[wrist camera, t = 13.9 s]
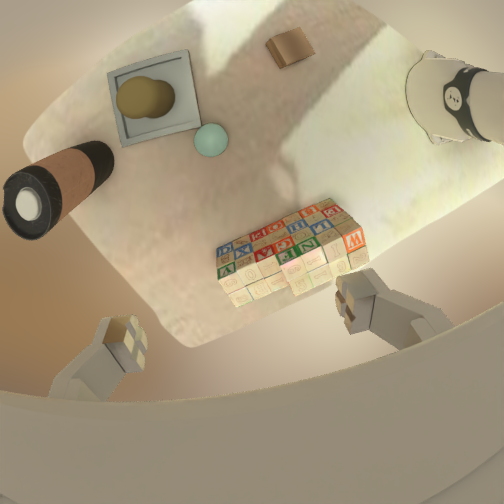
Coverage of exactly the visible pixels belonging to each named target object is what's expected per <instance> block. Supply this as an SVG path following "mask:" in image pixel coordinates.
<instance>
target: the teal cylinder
mask: <svg viewBox="0 0 504 504" xmlns="http://www.w3.org/2000/svg"><path fill="white" fill-rule="evenodd" d="M227 143H228V137H227V134H226V132H225V130H224V129H223V128H222V127H221V126H220V125H218V124H216V123H207V124H205V125H203V126H202V127H201V128H200V129H199V130H198V131H197V133H196V135H195V138H194V144H195V147H196V149H197V151H198V152H199V153H200V154H202V155H204V156H207V157H214V156H217V155H219V154H221V153H222V152H223V151H224V150H225V148H226V146H227Z"/></svg>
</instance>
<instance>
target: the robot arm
mask: <svg viewBox="0 0 504 504" xmlns="http://www.w3.org/2000/svg"><path fill="white" fill-rule="evenodd" d="M406 95H407V101H408V105H409V108H410V111H411V113H412V115H413V117H414V118H415V120H416V121H417V122H418V124H419V125H420V126H421V127H422V128H423V129H425V131H426V132H427V133H428V136H429V138H430V140H431V141H432V143H433V144H442V143H446V142H450V141H453V140H454V141H458V142H463V141H464V140H468V139H471V138H475V139H477V140H481V141H487V142H491V141H494V142H497V143H500V144H502V145H504V73H498V72H489V71H487V70H485V69H481V68H477V67H474V66H472V65H470V64H465V62H464V61H460V60H458V59H452V58H445V57H443V56H442V55H440V54H438V53H436V52H434V51H431V50H427V51H425V53H424V55H423V57H422V60H421V61H420V62H418V63H417V64H416V65H414V67H413V68H412V69H411V71H410V73H409V75H408V78H407V84H406ZM440 137H441V138H440ZM336 286H337V288H338V291H337V292H336V294H335V296H336V299H335V301H336V307H337V309H338V312H339V314H340V316H342V317H344V318H345V320H344V324H345V325H346V328H347V329H348V331H349V333H350V335H351V334H355V333H358V332H362V331H366V330H370V331H371V332H373V333H374V334H376V335H377V336H379V337H380V338H382V339H383V340H385V341H387V342H388V343H390V344H391V345H393V346H394V347H396V348H397V349H399V351H397V352H394V353H392V354H389V355H386V356H383V357H380V358H377V359H374V360H372V361H368V362H365V363H362V364H359V365H356V366H353V367H349V368H346V369H343V370H339V371H336V372H332V373H329V374H325V375H321V376H317V377H313V378H309V379H305V380H301V381H297V382H292V383H288V384H283V385H278V386H273V387H268V388H263V389H258V390H252V391H246V392H239V393H233V394H226V395H218V396H211V397H203V398H202V397H201V398H191V399H180V400H166V401H144V402H106V400H107V399H108V398H109V397H110V395H111V394H112V392H113V391H114V389H115V388H116V387H117V385H118V384H119V383H120V381H121V380H122V378H123V377H124V376H125V374H126V373H131V372H142V371H143V370H144V364H145V357H144V356H143V355H144V353H145V352H146V351H147V348H148V341H147V336H146V333H145V331H144V329H142V328H141V327H139V326H138V324H139V320H138V318H137V317H136V315H133V314H131V315H122V316H114V317H106V318H103V319H101V321H100V324H99V326H98V329H97V331H96V334H95V337H94V339H93V342H92V345H88V346H87V347H86V348H85V349H84V350H83V351H82V352H81V353H80V354H79V355H78V356H76V357H75V358H74V359H73V360H72V361H71V362H70V363H69V364H68V365H67V366H66V367H65V368H64V369H63V370H62V371H61V372H60V373H59V374H58V375H56V376H55V378H54V381H53V383H52V386H51V389H50V392H49V395H48V398H45V397H37V396H29V395H23V394H16V393H11V392H6V391H1V390H0V504H504V301H502V302H501V303H499V304H497V305H496V306H494V307H492V308H490V309H489V310H487V311H485V312H483V313H481V314H480V315H477V316H476V317H474V318H472V319H470V320H468V321H466V322H464V323H462V324H460V325H458V326H456V327H455V326H454V325H453V323H452V322H451V321H450V320H449V319H448V317H447V316H446V315H445V314H444V312H443V311H442V310H441V309H440V308H437V307H435V306H433V305H430V304H428V303H425V302H423V301H420V300H418V299H415V298H413V297H411V296H408V295H405V294H403V293H401V292H398V291H396V290H390V289H389V288H388V287H387V286H386V284H385V283H384V282H383V281H382V279H381V278H380V277H379V276H378V275H377V273H376V272H375V271H374V270H373V269H372V268H368V269H364V270H361V271H358V272H354V273H350V274H346V275H341V276H337V278H336Z"/></svg>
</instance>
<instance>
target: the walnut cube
mask: <svg viewBox="0 0 504 504" xmlns="http://www.w3.org/2000/svg"><path fill="white" fill-rule="evenodd" d="M266 46H267V47H268V49H269V51H270V52H271V54H272V56H273V57H274V59H275V61H276V63H277V64H278V66H279V68H283V67H285V66H287V65H290V64H292V63H295V62H297V61H300V60H302V59H305V58H307V57H309V56H311V55H313V54H315V52H314V50H313V48H312V47H311V45H310V43H309V41H308V40H307V38H306V36H305V35H304V33H303V31H302V30H301V28H300V27H299V28H296V29H293V30H290V31H287V32H285V33H282V34H279V35H277V36H274V37H272V38H270V40H269V41H268V42H267V43H266Z"/></svg>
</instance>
